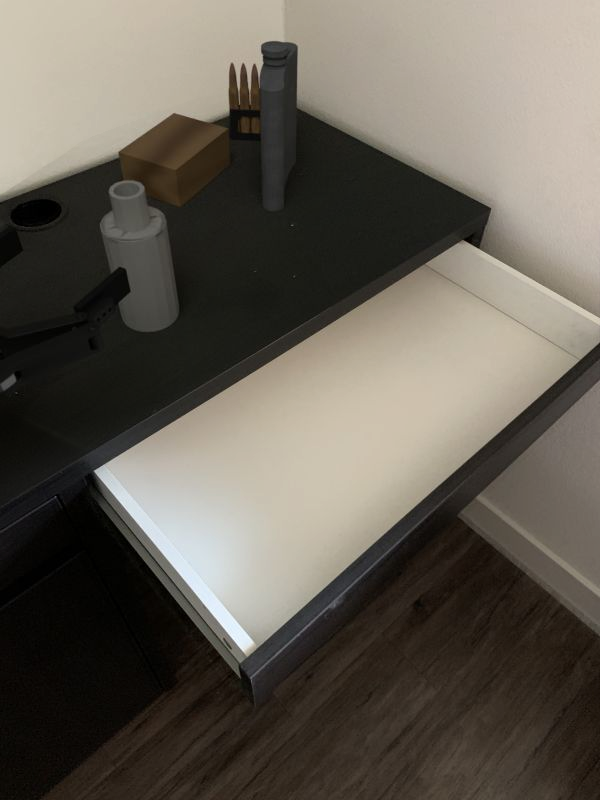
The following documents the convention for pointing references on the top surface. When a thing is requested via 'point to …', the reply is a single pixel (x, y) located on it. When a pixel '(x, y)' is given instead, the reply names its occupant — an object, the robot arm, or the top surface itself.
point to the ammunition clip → (244, 105)
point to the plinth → (176, 158)
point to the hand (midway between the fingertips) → (69, 257)
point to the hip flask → (277, 119)
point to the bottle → (141, 258)
